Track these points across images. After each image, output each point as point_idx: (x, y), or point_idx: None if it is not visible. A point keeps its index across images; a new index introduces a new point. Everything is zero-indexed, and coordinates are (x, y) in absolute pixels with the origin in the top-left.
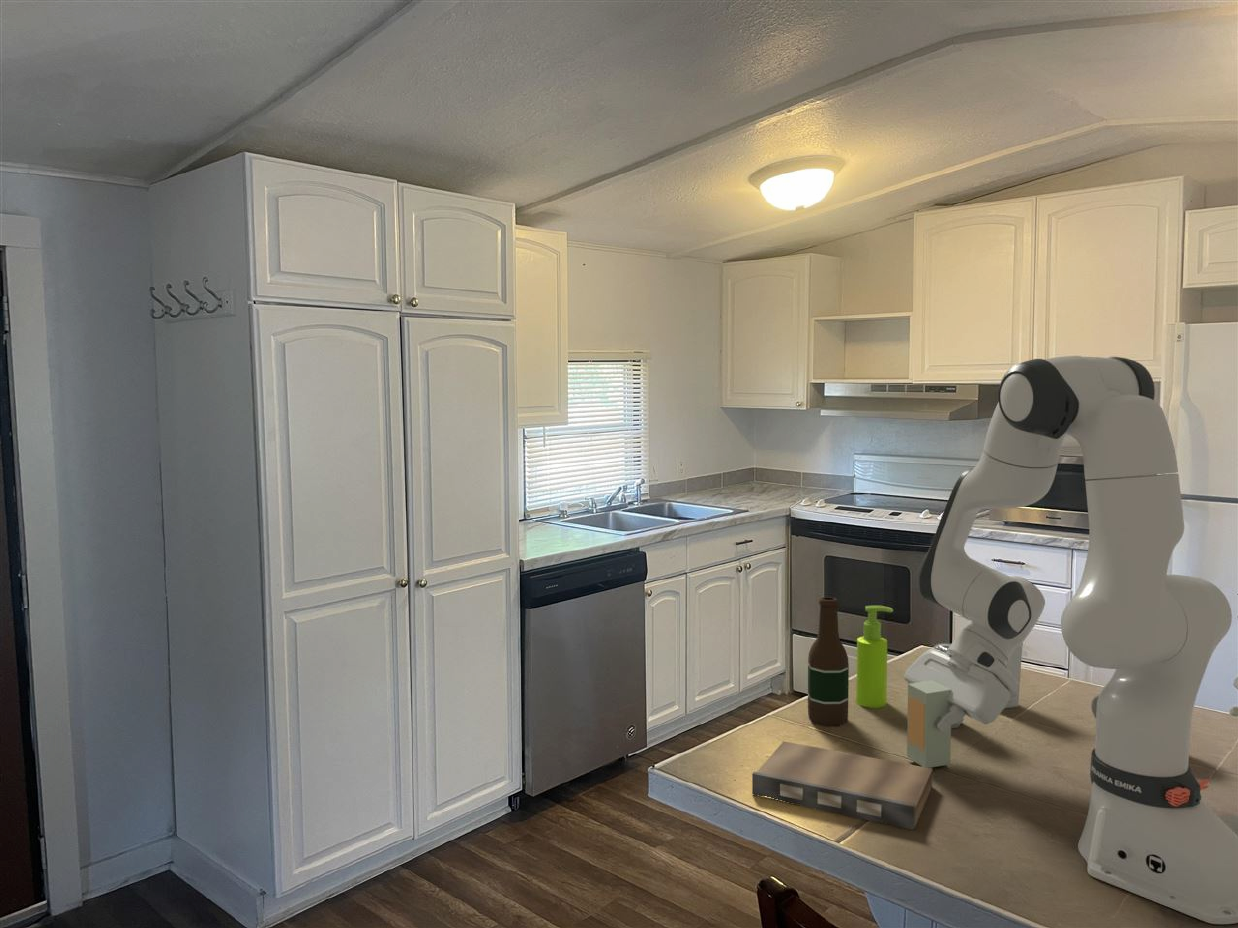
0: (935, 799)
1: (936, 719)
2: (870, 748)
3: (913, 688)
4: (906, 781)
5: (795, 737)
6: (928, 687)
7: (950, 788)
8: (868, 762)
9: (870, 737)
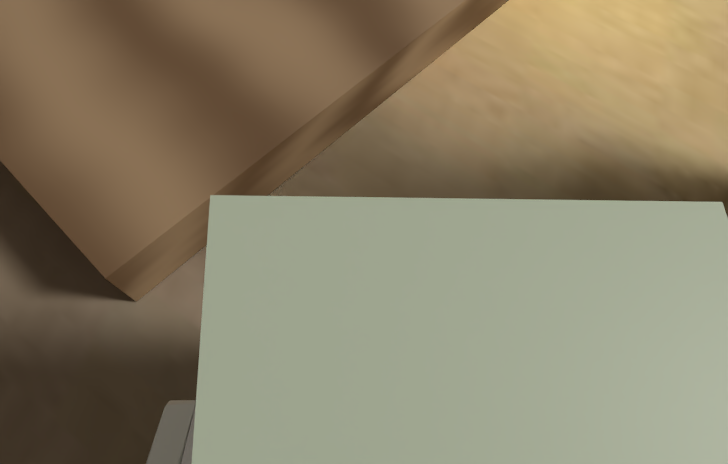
0: (28, 237)
1: None
2: None
3: (564, 211)
4: (56, 81)
5: (710, 77)
6: (489, 441)
7: (77, 373)
8: (302, 55)
9: None
